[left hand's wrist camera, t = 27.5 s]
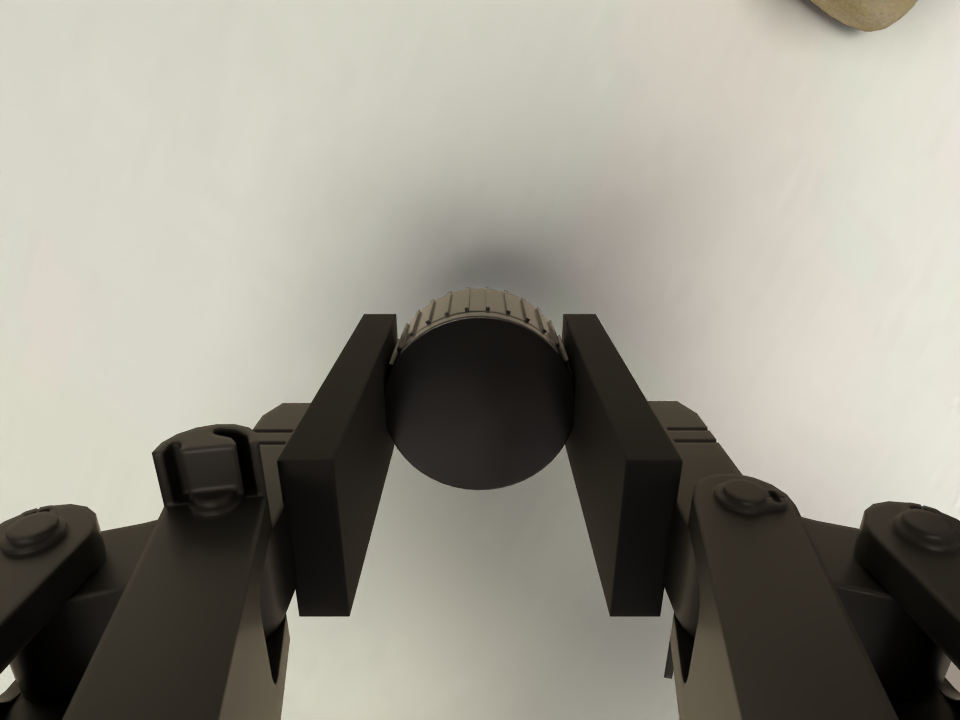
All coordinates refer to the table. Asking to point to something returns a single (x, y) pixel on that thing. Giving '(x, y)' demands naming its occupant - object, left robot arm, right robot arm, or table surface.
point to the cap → (479, 390)
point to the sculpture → (866, 12)
